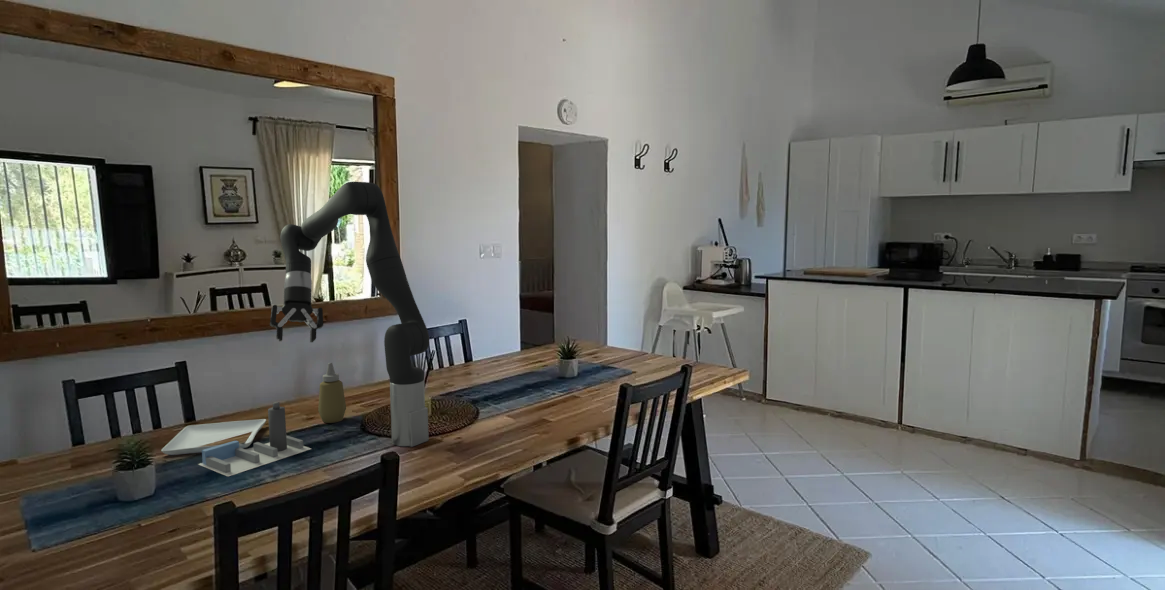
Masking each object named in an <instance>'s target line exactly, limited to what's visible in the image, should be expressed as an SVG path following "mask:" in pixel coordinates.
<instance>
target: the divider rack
mask: <svg viewBox="0 0 1165 590" xmlns="http://www.w3.org/2000/svg"><path fill="white" fill-rule="evenodd" d="M286 438H287V449H286V450H284V451H280V452H278V450H277V448H274V447H271V446H270V441H269V442H267V443H262V442H259V441H256V442H252V443H253V446H252V447H249V448H244V449H243V448H240V447H239V444H240V442H239V441H238V440H233V441H229V442H225V443H221V444H217V445H218V446H215V445H214V446H215V447H211V448H208V449H204V450H202V452H201V456H202V457H201V460H202V462H200V463H197V465H198V466H200V467H204V468H206V469H208V470H211V471H214V472H216V473H217V474H221V475H223V476H226V477H230V476H235V475H237V474H241V473H243V472H245V471H249V470H252V469H256V468H258V467H261V466H264V465H268V464H271V463H273V462H276V461H277V462H278V461H279V460H282V459H286V458H289V457H292V456H294V455H297V454H301V453H303V452H306V451H309V450H312V448H310V447H309V446H305V445H304V440H302V439H300V438H296V437H293V436H290V435H287V434H286Z"/></svg>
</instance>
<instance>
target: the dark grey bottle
mask: <svg viewBox="0 0 1165 590" xmlns="http://www.w3.org/2000/svg"><path fill="white" fill-rule="evenodd" d="M267 417H268V419H267V420H268V433H269V434H268V435H269V436H268V437H269V442H270V446H271V447H274V448H277V450H278V452H280V451H284V450H286V449H287V438H286V435H287V427H286V426H287V425H286V424H287V423H286V407H284V406H280V401H275V402H272V406H271V407H269V408H268V409H267Z"/></svg>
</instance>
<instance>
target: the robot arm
mask: <svg viewBox="0 0 1165 590" xmlns="http://www.w3.org/2000/svg"><path fill="white" fill-rule="evenodd" d="M348 215H355V216H366V218H367V221H368V224H369V228H370V239H369V244H368V247H367V250H366V255H365V263H366V266H367V267H366V268H367V270H368V273H369V275H370V279H371V281H372V284H373V286H374V287H375V289H376V290H377V291H378V292H379V293H380V295H382V296H383V297H384V298H385V299H386V300H387V301H388V302H389V303H390V304H391V305H392V306H393V308H394V309H395V311H396V313H397V315H398V317H399V321H400V323H397V324H392V325H390V326H389V327H388V328H387V329H386V331H385V333H384V341H383V344H384V356H385V366H386V371H387V374H388V377H389V399H390V404H389V405H390V423H391V424H390V426H391V444H393V445H394V446H399V447H415V446H418V445H421V444H423V443H426V442H428V441H429V438H430V437H429V415H428V413H429V412H428V411H429V410H428V409H429V408H428V407H426V398H425V397H426V396H425V393H426V392H425V372H424V369H423V368H421V367H418V366H413V365H412V361H411V357H412V356H416V355H419V354H424V353H425V352H426V351H427V350H428V349H429V347H430V335H429V330H428V329H427V328H428V327H427V325H426V323H425V321H424V318H423V316H422V313H421V312H420V310H419V309H420V308H419V307H418V305H417V303H416V300H415V298H414V295H413V291H412V289H411V287H410V283H409V280H408V278H407V275H406V272H405V268H404V264H403V261H402V259H401V256H400V253H399V250H398V247H397V245H396V241H395V238H394V234H393V231H392V228H391V224H390V218H389V214H388V210H387V205H386V201H385V197H384V194H383V192H382V190H381V188H380V187H379V185H378V184H376V183H374V182H370V181H369V182H368V181H348V182H345V183H344V184H342V185H341V186H340V187H339V188H338V189H337V190H336V192H335V193H334V194H333V195H332V196H330V198H329V200H327V202H326V203H325V204H324V205H323V206H321V208H319V209H318V210H317V211H316V212H314V213H313V214H311V215H309V216H308V217H307V218H305V219H304V220H303V222H301V226H300V225H296V224H293V223H291V224H290V223H289V224H286V225H284V227H283V228H282V229H281V231H280V243H281V247H282V250H283V251H282V252H283V254H284V259H285V276H284V284H283V289H284V290H283V305H282V306H278V305H277V304H274V305H272V307H271V310H270V311H271V312H270V313H271V314H270V320H269V321H270V322H269V326H270V327H271V328H275V329H276V333H275V334H276V340H278V342H282V341H283V336H284V335H283V334H284V328H283V326H284V325H285V324H286V323H287V322H288V321H289V322H290V323H295V322H298V323H305V324H306V325H307V326H308V327H309V329H310V332H309V333H310V335H309V336H310V337H309V343H314V342H315V341H316V339H317V330H319V329H322V328H323V327H324V311H323V310H324V309H323V308H322V307H319V308H313V307H312V290H313V289H312V287H313V285H312V284H313V281H312V260H311V258H310V257H309V255H306V254H304V253H303V252H304V251H305V252H309V251H312V250H315V249H316V247H317V246H318V244H319V243H320V241H321V240H322V239H323V237H324V238H325V237H326V236H327V235H329V234H330V233H331V232H333V231H334V230H335V229H336V228H337V226H338V223H339V219H341V218H342V217H345V216H348ZM301 251H303V252H301ZM280 312H282V313H283V315H284V317H283V318H282V319H281V320H280V321H279V322H277V315H278V314H279V313H280ZM312 313H313V314H314V316H316V320H317V321H316V322H315V321H314V320H313V318H312V317H311V315H312Z"/></svg>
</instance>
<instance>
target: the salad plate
mask: <svg viewBox="0 0 1165 590" xmlns="http://www.w3.org/2000/svg"><path fill="white" fill-rule="evenodd" d="M266 422H267V419H266V418H261V419H259V418H258V419H247V420H246V419H245V420H235V421H234V420H233V421H223V422H213V423H211V422H210V423H203V424H191V425H187V426H185V427H184V428H183V429H182V430H180V431H179V432H178V433H177V434H176V435H175V436H174V437H173V438H171V440H170V441H169V442H168V443H167V444H166V445H165V446H164V447H162V448H161V452H162V453H163V454H165V455H168V456H177V455H185V454H187V455H188V454H196V453H197V454H199V453H202V450H204V449H208V448H211V447H215V446H218V445H219V444H216V445H209V444H213V443H217V442H220V441H223V440H227V439H230V438H234V437H238V436H241V435H245V434H248V433H250V435H249V437H248V438H247V440H246V441H245V442H244V443H239V447H240V448H243V449H248V447H250V446H251V444H252V443H253V441H254V439H255V436H256V435H257V434H258V433H259V431H260V430H261V429H262V427H264V425H265V424H266Z"/></svg>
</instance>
